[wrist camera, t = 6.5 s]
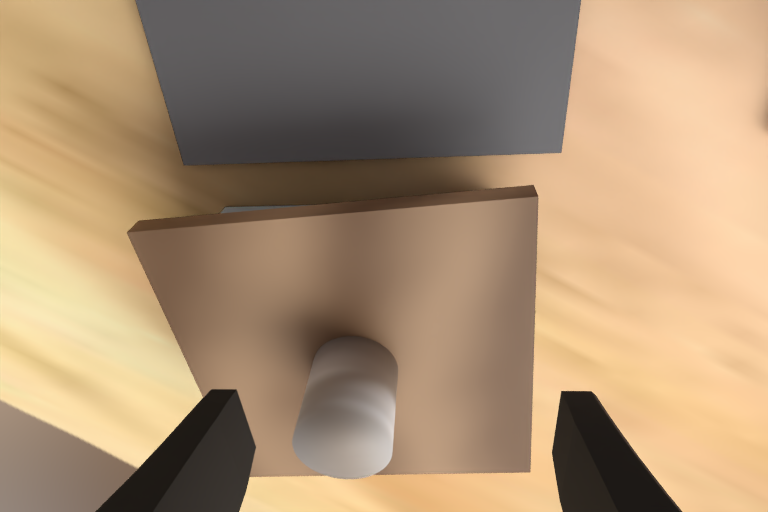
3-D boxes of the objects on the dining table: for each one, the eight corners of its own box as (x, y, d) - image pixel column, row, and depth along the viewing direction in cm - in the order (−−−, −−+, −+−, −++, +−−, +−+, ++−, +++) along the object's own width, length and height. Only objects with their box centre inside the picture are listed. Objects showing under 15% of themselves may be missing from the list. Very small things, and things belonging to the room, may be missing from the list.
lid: (533, 184, 15) (566, 262, 12) (527, 455, 22) (546, 558, 18) (138, 220, 17) (60, 297, 13) (245, 461, 24) (212, 555, 20)
